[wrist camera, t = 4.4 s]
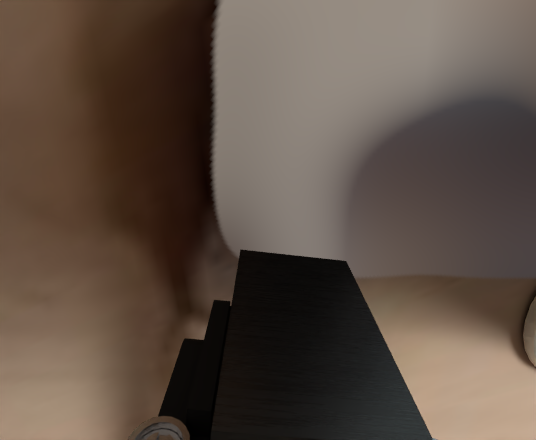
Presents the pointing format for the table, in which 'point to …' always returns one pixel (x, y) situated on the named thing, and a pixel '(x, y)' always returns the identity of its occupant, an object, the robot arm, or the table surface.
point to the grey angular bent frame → (307, 358)
